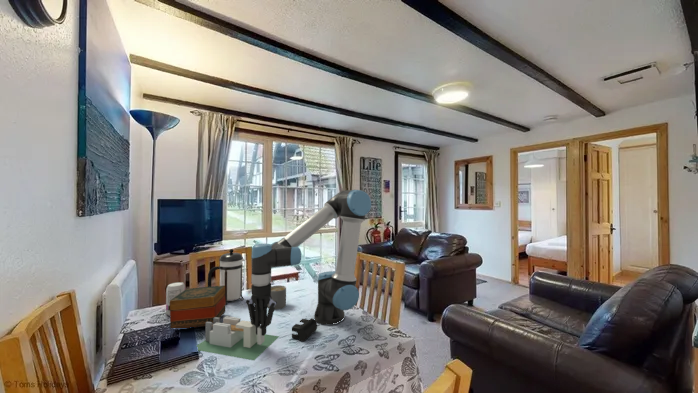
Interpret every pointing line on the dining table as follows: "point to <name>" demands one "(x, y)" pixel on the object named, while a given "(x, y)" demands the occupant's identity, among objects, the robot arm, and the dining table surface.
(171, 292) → the supplement can
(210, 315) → the decorative box
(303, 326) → the end cap
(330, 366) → the dining table surface
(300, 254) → the robot arm
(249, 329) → the cream white stepped block
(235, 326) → the golden metal bar
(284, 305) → the coffee mug
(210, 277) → the coffee press
